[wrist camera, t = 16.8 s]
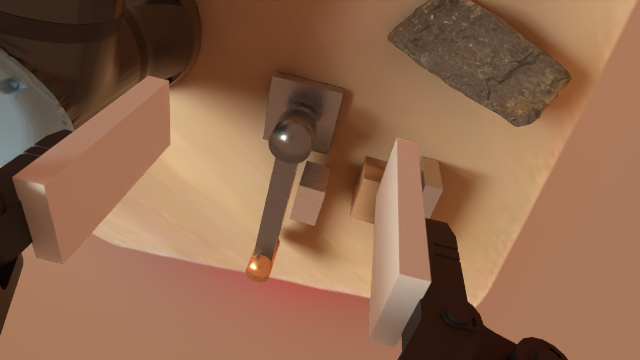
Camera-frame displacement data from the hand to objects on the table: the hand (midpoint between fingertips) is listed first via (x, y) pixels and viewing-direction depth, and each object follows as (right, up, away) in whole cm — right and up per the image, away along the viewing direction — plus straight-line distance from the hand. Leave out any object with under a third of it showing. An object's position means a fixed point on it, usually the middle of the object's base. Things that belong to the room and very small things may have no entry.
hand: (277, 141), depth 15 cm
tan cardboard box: (+9, -1, +37) cm, 38 cm away
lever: (-2, -3, +36) cm, 36 cm away
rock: (+17, +12, +26) cm, 34 cm away
